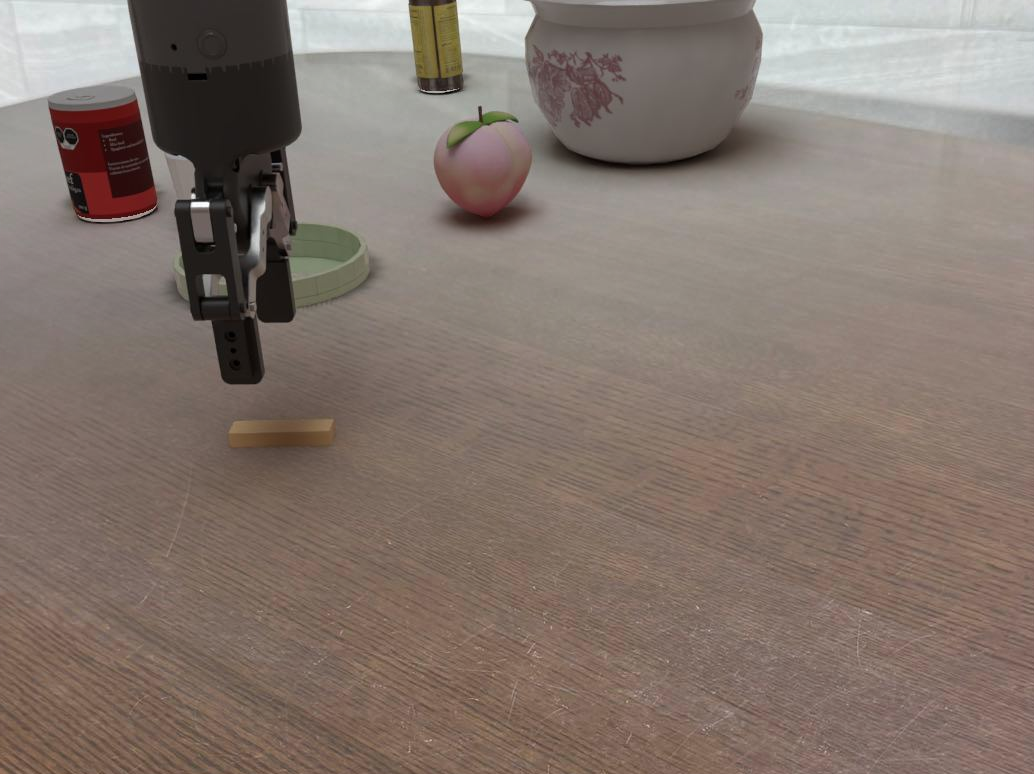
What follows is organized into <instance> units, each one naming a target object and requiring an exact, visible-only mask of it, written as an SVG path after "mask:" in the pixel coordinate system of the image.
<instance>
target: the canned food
mask: <svg viewBox="0 0 1034 774" xmlns="http://www.w3.org/2000/svg"><path fill="white" fill-rule="evenodd" d="M47 107H48V112H49V115H50V120H51V124H52V128H53V129H52V130H53V132H54V136H55V141H56V144H57V149H58V153H59V156H60V160H61V164H62V169H63V173H64V177H65V182H66V184H67V189H68V192H69V197H70V201H71V205H72V209H73V211H74V213H75V215H76V216H77V215H79V216H81V217H85V218H91V219H112V218H121V217H128V216H133V215H137V214H140V213H144V212H146V211H149V210H151V209H153V208H154V207H155V206H156V205H157V206H158V193H157V189H156V185H155V180H154V175H153V170H152V164H151V159H150V155H149V150H148V149H149V148H148V144H147V140H146V139H147V138H146V135H145V129H144V124H143V120H142V115H141V108H140V107H139V102H138V97H137V95H136V91H135V89H133V88H131V87H128V86H122V85H96V86H94V85H93V86H85V87H77V88H70V89H66V90H61V91H59V92H56V93H53V94H51V95H50V96H48V98H47Z"/></svg>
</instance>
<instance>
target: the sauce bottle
mask: <svg viewBox="0 0 1034 774" xmlns="http://www.w3.org/2000/svg"><path fill="white" fill-rule="evenodd" d="M407 6H408V14H409V22H410V23H409V24H410V32H411V39H412V49H413V57H414V66H415V67H414V68H415V75H416V78H417V88H418V87H419V88H420V89H422V90H425V91H447V90H453V89H458V88H460V89H461V88H463V87H464V77H463V72H464V65H463V64H464V63H463V57H462V46H461V45H462V44H461V35H460V23H459V14H458V13H459V12H458V3H457V0H408V5H407ZM419 88H418V89H419Z"/></svg>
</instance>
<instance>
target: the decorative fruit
mask: <svg viewBox="0 0 1034 774" xmlns="http://www.w3.org/2000/svg"><path fill="white" fill-rule="evenodd" d="M477 109H478V110H477V112H478V113H477V114H478V116H476V117H471V118H466V119H463V120H460V121H458V122H455V123H453V124H452V125H450V126H449V127H448V128H447V129H446V130H445V131H444V132H443V133H442V135H441V136H440V137H439V139H438V141H437V143H436V145H435V148H434V152H433V169H434V173H435V176H436V180H437V182H438V183H439V186H440V187H441V189H442V190H443V191H444V193H445V194H446V196H447V197H448V198H449V199H450V200H451V201H452V202H453V203H454V204H455V205H457V206H458V207H460V208H462V209H463V210H465V211H467V212H470V213H471V214H474V215H477V216H481V217H483V218H487V219H488V218H490V217H491V216H493V215H496V214H497V213H499V212H500V211H501V210H503V209H504V208H505V207H507V206H508V205H509V204H510V203H511V202H513V200H515V198H516V197H517V196H518V194H519V193H520V191H521V190H522V188H523V187H524V184H525V182H526V180H527V178H528V176H529V173H530V170H531V168H532V162H533V151H532V147H531V144H530V141H529V140H528V138H527V136H526V135H525V133H524V132H523V131H522V130H521V129H520V128H519V127H518V126H517V125H516V124H514V123H517V124H519V119H518V118H517V117H515V115H513V114H511V113H509V112H505V111H501V110H500V111H499V110H492V111H488V112H485V113H483V106H482V105H478V106H477ZM510 121H511V122H510ZM512 122H514V123H512Z"/></svg>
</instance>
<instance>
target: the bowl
mask: <svg viewBox="0 0 1034 774" xmlns="http://www.w3.org/2000/svg"><path fill="white" fill-rule="evenodd" d="M297 224H298V228H297V230H296V235H295V236H290V238H291V242H292V243H293V250H292V254H291V256H290V257H285V258H289V262H290V270H291V275H295V274H296V275H297V274H308V275H303V276H299V277H298V276H297V277H294V278H293V277H292V284H293V292H294V299H295V307H296V308H301V307H305V306H310V305H314V304H320V303H322V302H325V301H328V300H331V299H335V298H338V297H340V296H342V295H344V294H346V293H348V292H350V291H352V290H353V289H355V288H358V287H359V286H360V285H361V284H362V283H363V282H364V281H366V280H367V278H368V276H369V274H370V272H371V267H370V266H371V265H370V257H369V249H368V243H367V241H366V239H365V236H364V235H362V234H361V233H359V232H358V231H356V230H354V229H351V228H349V227H346V226H343V225H338V224H331V223H326V222H317V221H316V222H315V221H297ZM211 246H215V245H211ZM238 255H244V254H238ZM172 268H173V269H172V270H173V274H174V279H175V283H176V288H177V293H178V294H179V295H180V296H181V297H182V298H183V299H184V300H185V301H187V302H189V296H188V290H187V284H186V278H185V271H184V265H183V259H182V253H181V249H180V250H179V251H177V253H176V254H175V255H174V257H173V258H172ZM202 277H203V274H202ZM219 295H228V293H227V286H226V281H219Z"/></svg>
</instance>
